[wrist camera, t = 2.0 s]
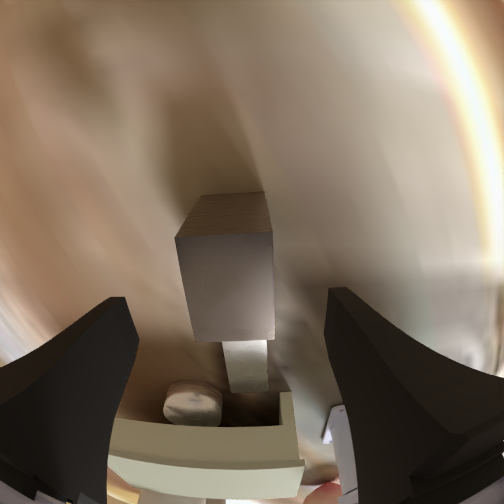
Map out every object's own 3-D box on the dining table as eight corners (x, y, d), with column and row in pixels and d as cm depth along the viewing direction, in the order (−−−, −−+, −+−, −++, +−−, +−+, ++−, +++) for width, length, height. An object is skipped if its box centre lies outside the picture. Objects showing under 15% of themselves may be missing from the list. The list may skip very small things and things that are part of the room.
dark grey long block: (264, 191, 16) (272, 231, 10) (270, 382, 22) (274, 443, 17) (200, 196, 16) (174, 237, 10) (228, 383, 22) (224, 445, 17)
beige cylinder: (146, 439, 28) (128, 522, 17) (211, 452, 29) (205, 537, 18) (151, 461, 31) (138, 529, 20) (206, 471, 32) (200, 541, 21)
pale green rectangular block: (294, 389, 23) (305, 466, 16) (290, 437, 27) (296, 496, 20) (115, 385, 23) (91, 450, 16) (146, 434, 27) (133, 487, 20)
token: (219, 378, 22) (216, 401, 20) (226, 410, 24) (224, 430, 22) (161, 377, 22) (155, 398, 20) (175, 408, 24) (171, 428, 22)
